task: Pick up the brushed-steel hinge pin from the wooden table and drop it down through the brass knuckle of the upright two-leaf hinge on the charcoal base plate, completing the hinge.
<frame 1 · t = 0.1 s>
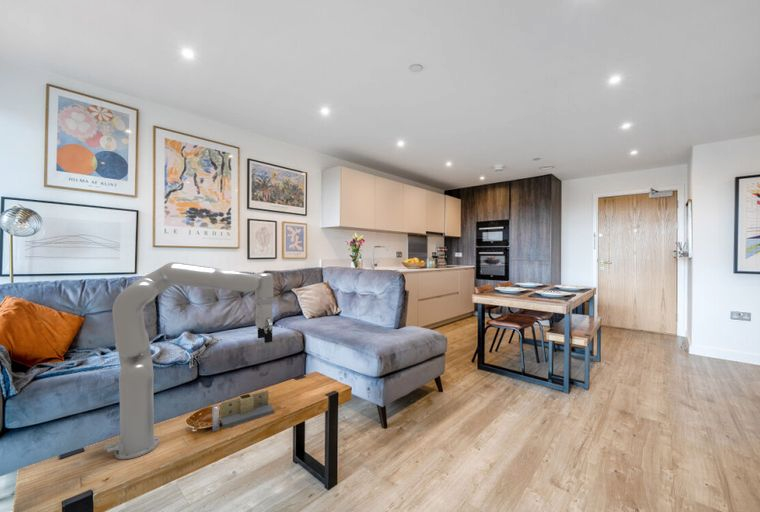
hand: (264, 340, 140), 31 cm above the table, tool pointing down, fingers open, 9 cm apart
hinge: (245, 403, 137), on the base plate, point 4 cm above the table
hinge pin: (216, 429, 124), on the table
base plate: (245, 413, 137), on the table
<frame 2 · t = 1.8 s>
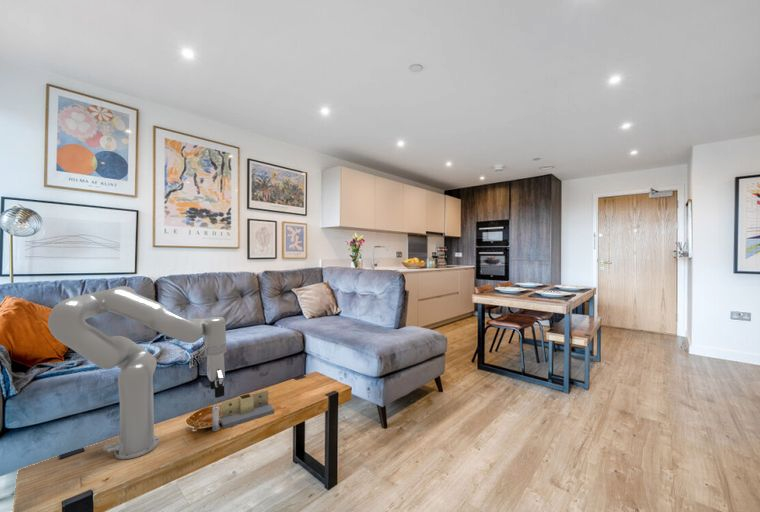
hand: (217, 392, 125), 14 cm above the table, tool pointing down, fingers open, 9 cm apart
nothing on the table moved.
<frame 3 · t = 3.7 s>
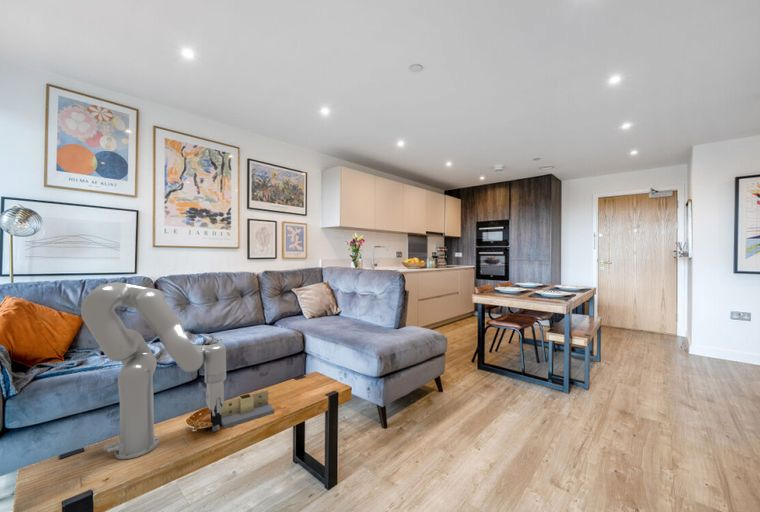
hand: (216, 423, 124), 3 cm above the table, tool pointing down, fingers closed on hinge pin, 2 cm apart
hinge pin: (216, 429, 124), on the table, touching gripper
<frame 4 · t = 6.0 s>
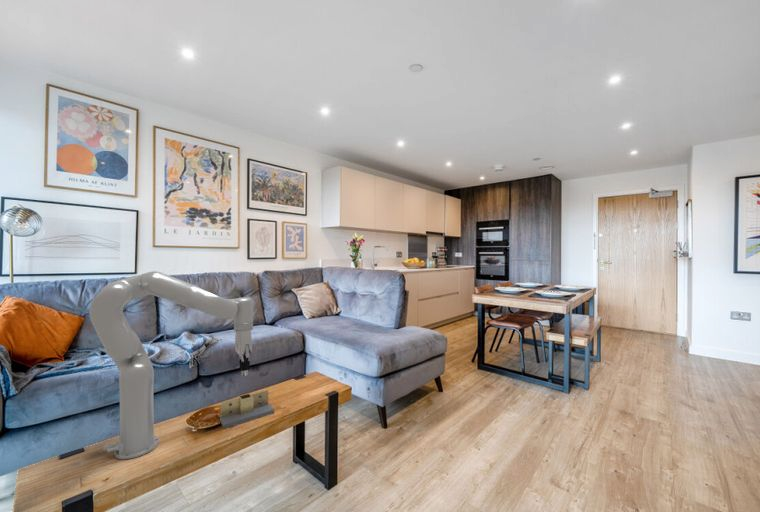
hand: (244, 368, 137), 19 cm above the table, tool pointing down, fingers closed on hinge pin, 2 cm apart
hinge pin: (244, 374, 137), point 17 cm above the table, touching gripper
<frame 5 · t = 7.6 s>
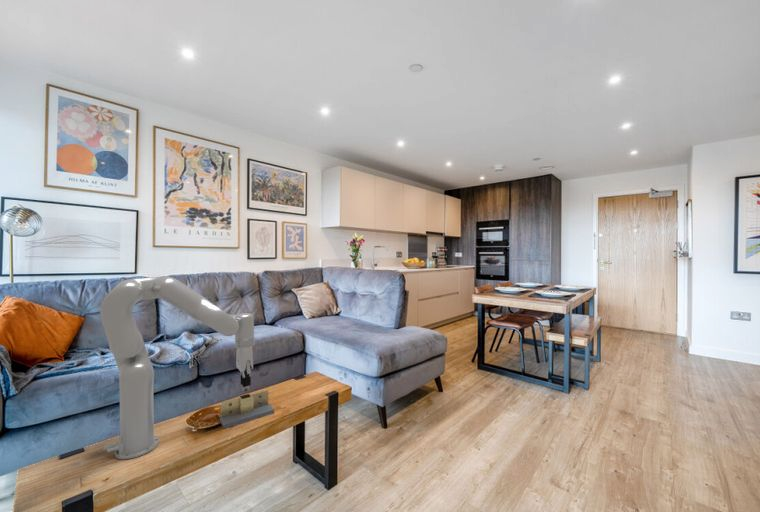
hand: (245, 384, 137), 13 cm above the table, tool pointing down, fingers closed on hinge pin, 2 cm apart
hinge pin: (245, 390, 137), point 10 cm above the table, touching gripper
when the fingers open (9 cm above the table, at t = 8.7 s): hinge pin drops 5 cm, resting on base plate.
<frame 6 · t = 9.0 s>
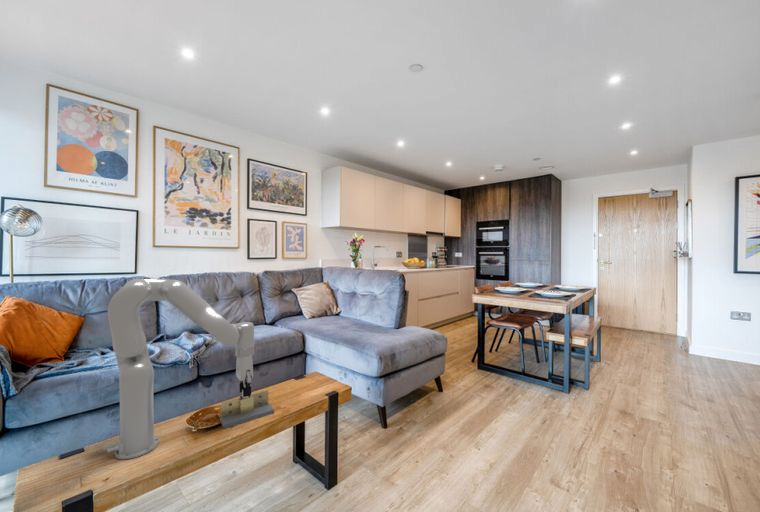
hand: (245, 393, 137), 9 cm above the table, tool pointing down, fingers open, 4 cm apart
hinge pin: (245, 410, 137), point 1 cm above the table, touching base plate
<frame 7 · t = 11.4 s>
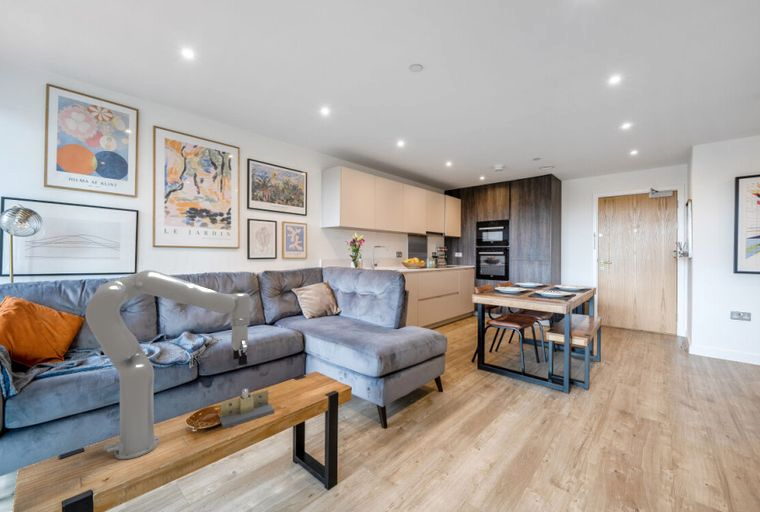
hand: (239, 361, 137), 23 cm above the table, tool pointing down, fingers open, 9 cm apart
nothing on the table moved.
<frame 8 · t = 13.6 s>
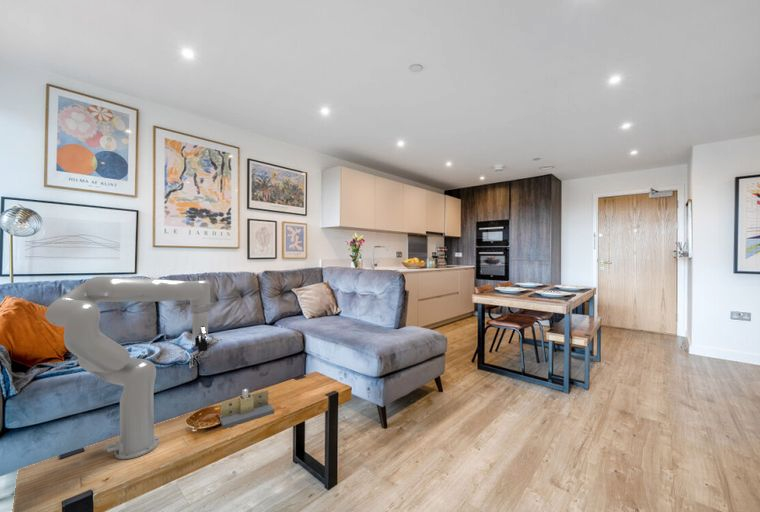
hand: (201, 348, 137), 28 cm above the table, tool pointing down, fingers open, 9 cm apart
nothing on the table moved.
at the end: hinge pin 0.1 cm off-centre on the hinge, point 1.5 cm above the hinge's base; hinge pin tilted 0°; the gripper is holding nothing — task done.
